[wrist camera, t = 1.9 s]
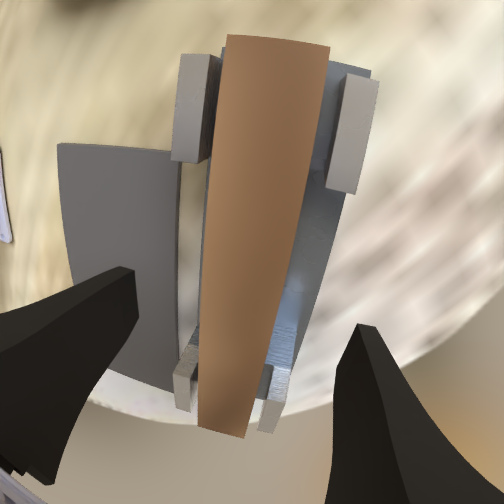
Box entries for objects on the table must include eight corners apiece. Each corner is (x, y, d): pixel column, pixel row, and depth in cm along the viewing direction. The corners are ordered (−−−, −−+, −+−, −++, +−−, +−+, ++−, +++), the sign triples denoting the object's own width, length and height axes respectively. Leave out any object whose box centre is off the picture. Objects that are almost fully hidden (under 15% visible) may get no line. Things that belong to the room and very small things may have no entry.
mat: (97, 359, 23) (94, 362, 23) (61, 142, 14) (56, 144, 14) (180, 391, 22) (178, 395, 22) (182, 152, 14) (178, 154, 13)
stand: (199, 347, 19) (168, 413, 14) (226, 49, 11) (169, 20, 6) (290, 369, 18) (278, 443, 14) (369, 72, 10) (403, 51, 6)
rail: (210, 391, 16) (197, 426, 14) (249, 49, 8) (227, 34, 6) (253, 402, 15) (243, 438, 13) (327, 61, 8) (330, 46, 6)
